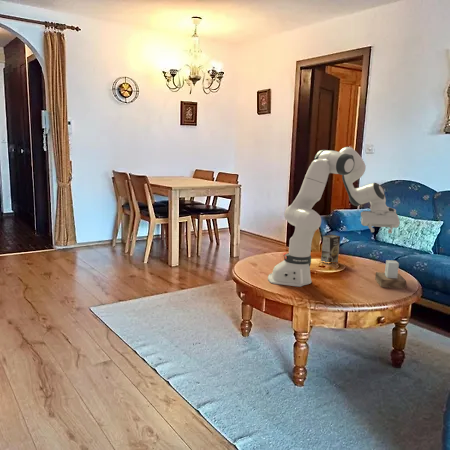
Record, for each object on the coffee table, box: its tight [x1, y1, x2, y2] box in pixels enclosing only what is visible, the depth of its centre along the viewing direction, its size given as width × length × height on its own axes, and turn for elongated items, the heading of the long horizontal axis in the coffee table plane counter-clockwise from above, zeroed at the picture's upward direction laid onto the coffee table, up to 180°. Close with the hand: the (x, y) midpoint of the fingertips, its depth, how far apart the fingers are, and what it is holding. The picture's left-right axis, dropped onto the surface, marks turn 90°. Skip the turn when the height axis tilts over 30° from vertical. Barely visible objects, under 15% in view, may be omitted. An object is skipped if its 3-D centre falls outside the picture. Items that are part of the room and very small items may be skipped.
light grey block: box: [384, 259, 400, 278], centre depth 222 cm, size 5×5×8 cm
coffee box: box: [320, 234, 341, 263], centre depth 258 cm, size 9×6×16 cm
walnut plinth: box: [374, 272, 407, 289], centre depth 224 cm, size 12×12×4 cm
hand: (381, 232), depth 237 cm, fingers open, 8 cm apart
